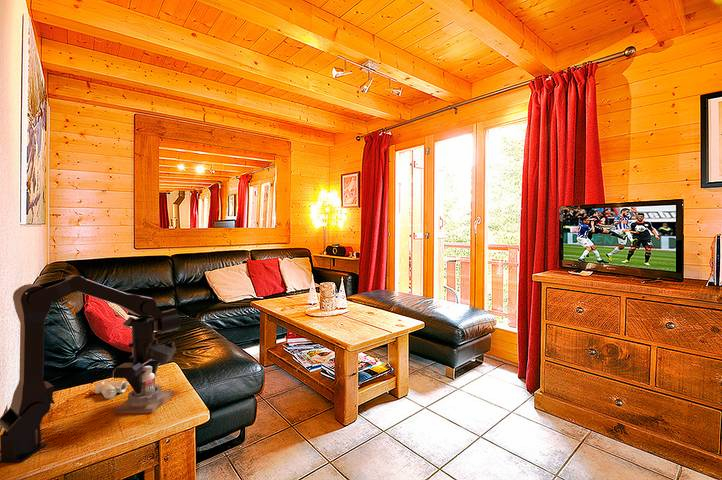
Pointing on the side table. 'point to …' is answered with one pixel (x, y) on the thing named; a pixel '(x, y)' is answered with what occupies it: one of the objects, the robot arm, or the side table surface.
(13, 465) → the side table surface
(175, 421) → the side table surface
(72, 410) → the side table surface
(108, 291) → the robot arm
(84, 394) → the side table surface
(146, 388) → the pill bottle
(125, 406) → the collar base
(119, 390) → the pipe fitting
